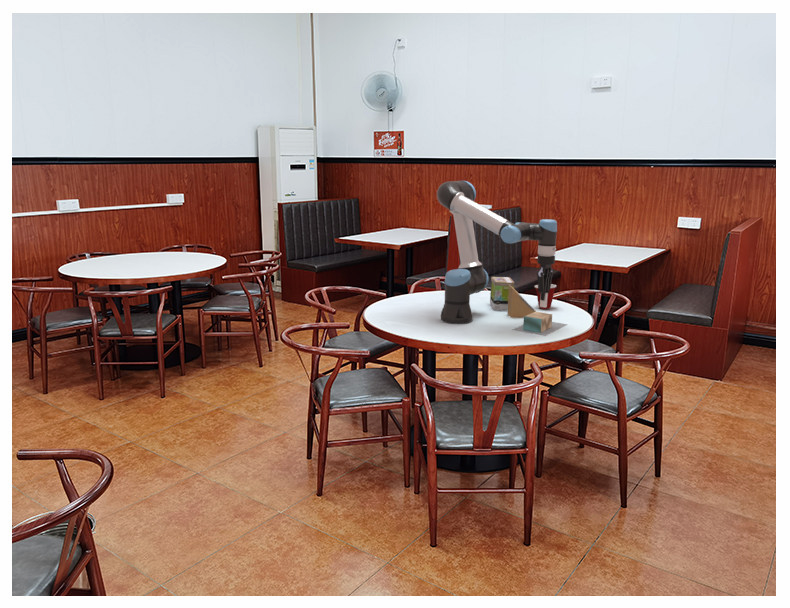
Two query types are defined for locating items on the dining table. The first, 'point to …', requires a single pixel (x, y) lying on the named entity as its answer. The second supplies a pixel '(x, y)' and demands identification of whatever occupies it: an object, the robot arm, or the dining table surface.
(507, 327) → the dining table surface
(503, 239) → the robot arm
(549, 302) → the plastic cup
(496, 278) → the tea box
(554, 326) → the grey mat
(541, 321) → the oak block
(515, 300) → the sandwich container
